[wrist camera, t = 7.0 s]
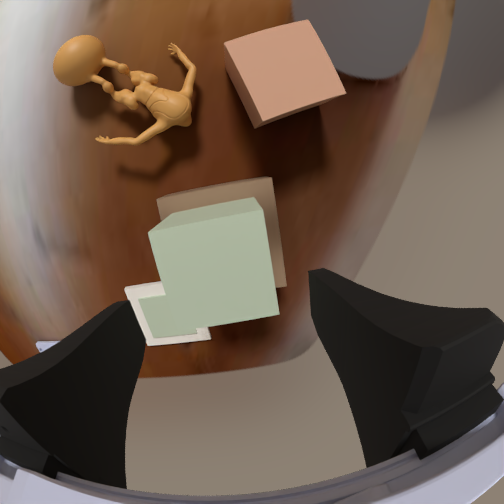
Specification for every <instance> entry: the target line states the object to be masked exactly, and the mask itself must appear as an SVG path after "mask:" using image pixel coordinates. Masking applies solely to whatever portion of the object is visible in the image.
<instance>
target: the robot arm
mask: <svg viewBox="0 0 504 504" xmlns="http://www.w3.org/2000/svg"><path fill="white" fill-rule="evenodd" d="M308 273H309V288H310V305H311V316H312V319H313V322H314V325H315V328H316V331H317V334H318V336H319V338H320V340H321V342H322V344H323V346H324V348H325V350H326V352H327V354H328V356H329V358H330V360H331V362H332V363H333V366H334V367H335V369H336V371H337V373H338V375H339V378H340V380H341V382H342V384H343V387H344V390H345V393H346V396H347V399H348V402H349V405H350V408H351V411H352V413H353V417H354V420H355V424H356V427H357V431H358V434H359V438H360V442H361V445H362V449H363V453H364V458H365V462H366V467H367V468H365V469H363V470H359V471H357V472H353V473H351V474H347V475H344V476H340V477H337V478H333V479H330V480H326V481H322V482H318V483H313V484H309V485H304V486H300V487H294V488H288V489H283V490H277V491H269V492H262V493H252V494H241V495H221V496H188V495H170V494H159V493H149V492H142V491H134V490H128V489H127V486H126V474H125V439H126V427H127V418H128V412H129V407H130V402H131V399H132V395H133V392H134V388H135V385H136V382H137V378H138V375H139V372H140V368H141V365H142V362H143V357H144V351H145V344H146V338H145V336H144V334H143V331H142V329H141V327H140V324H139V322H138V320H137V317H136V315H135V312H134V310H133V307H132V305H131V302H130V300H127V301H119V302H116V303H114V304H112V305H110V306H109V307H107V308H106V309H104V310H103V311H101V312H100V313H99V314H97V315H96V316H95V317H93V318H92V319H91V320H89V321H88V322H87V323H85V324H84V325H83V326H81V327H80V328H78V329H77V330H76V331H74V332H73V333H71V334H70V335H69V336H67V337H66V338H64V339H63V340H61V341H38V342H37V343H36V346H37V348H38V350H39V351H40V353H39V354H37V355H34V356H32V357H30V358H28V359H26V360H24V361H22V362H19V363H17V364H14V365H11V366H8V367H5V368H2V369H0V504H470V503H472V502H473V501H474V500H475V499H477V498H478V497H479V496H480V495H482V494H483V493H484V492H486V491H487V490H488V489H489V488H490V487H491V486H493V485H494V484H495V483H496V482H497V481H498V480H500V479H501V478H502V477H503V476H504V383H502V384H501V386H500V387H499V388H498V389H497V390H496V389H495V387H494V386H493V385H492V384H493V383H494V381H495V377H494V376H493V375H492V373H491V372H490V370H491V368H492V366H493V364H494V361H495V359H496V357H497V355H498V353H499V351H500V349H501V346H502V344H503V341H504V322H503V321H502V320H501V319H500V318H498V317H497V316H496V315H495V314H494V313H493V312H491V311H490V310H489V309H488V308H448V307H437V306H430V305H424V304H419V303H413V302H409V301H404V300H401V299H398V298H394V297H390V296H387V295H384V294H381V293H379V292H376V291H373V290H371V289H369V288H366V287H364V286H362V285H359V284H357V283H355V282H353V281H351V280H348V279H346V278H344V277H342V276H340V275H338V274H336V273H334V272H332V271H330V270H327V269H325V268H321V269H316V270H311V271H308Z"/></svg>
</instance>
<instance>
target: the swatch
mask: <svg viewBox="0 0 504 504" xmlns="http://www.w3.org/2000/svg"><path fill="white" fill-rule="evenodd" d="M124 290H125V293H126V295H127V298H128V300H130V302H131V305H132V307H133V310H134V312H135V315H136V317H137V320H138V322H139V324H140V327H141V329H142V331H143V334H144V336H145V338H146V343H147V345H148V346H153V345H165V344H175V343H184V342H193V341H201V340H209V339H211V334H210V330H209V327H203V328H196V329H189V330H181V331H178V330H177V327H176V324H175V321H174V318H173V315H172V313H171V310H170V307H169V304H168V300H167V297H166V294H165V291H164V288H163V285H162V281H159V282H153V283H147V284H140V285H134V286H127V287H125V289H124Z"/></svg>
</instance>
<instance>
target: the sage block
mask: <svg viewBox="0 0 504 504" xmlns="http://www.w3.org/2000/svg"><path fill="white" fill-rule="evenodd" d="M148 235H149V239H150V243H151V247H152V250H153V254H154V257H155V261H156V265H157V268H158V271H159V275H160V278H161V281H162V285H163V288H164V291H165V294H166V297H167V300H168V304H169V307H170V310H171V313H172V315H173V318H174V321H175V324H176V327H177V330H178V331H181V330H189V329H196V328H203V327H210V326H216V325H223V324H229V323H235V322H241V321H247V320H252V319H258V318H263V317H268V316H274V315H279V308H278V301H277V295H276V288H275V282H274V275H273V269H272V262H271V256H270V250H269V243H268V237H267V231H266V225H265V219H264V213H263V209H262V208H261V206H260V205H259V203H258V202H257V200H256V199H255V198H254V197H252V198H246V199H240V200H235V201H230V202H224V203H219V204H214V205H209V206H204V207H199V208H194V209H190V210H185V211H180V212H176V213H172V214H171V215H169V216H168V217H167V218H165V219H164V220H163V221H162V222H160V223H159V224H158V225H157V226H155V227H154V228H153V229H152V230H150V231H149V232H148Z"/></svg>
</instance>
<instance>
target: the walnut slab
mask: <svg viewBox="0 0 504 504" xmlns="http://www.w3.org/2000/svg"><path fill="white" fill-rule="evenodd" d="M252 197H254V198H255V199H256V200H257V202H258V203H259V205H260V206H261V208H262V209H263V213H264V219H265V225H266V231H267V237H268V243H269V250H270V256H271V262H272V269H273V275H274V282H275V288H279V287H285V286H287V285H286V277H285V269H284V261H283V253H282V245H281V238H280V231H279V223H278V216H277V209H276V202H275V195H274V189H273V182H272V178H271V177H267V176H265V177H258V178H252V179H245V180H239V181H234V182H228V183H222V184H217V185H212V186H206V187H201V188H196V189H191V190H186V191H182V192H177V193H172V194H168V195H166V196H163V197H161V198H159V199H156V200H157V204H158V209H159V214H160V218H161V222H162V221H163V220H164V219H165V218H167V217H168V216H169V215H171V214H172V213H176V212H180V211H185V210H190V209H194V208H199V207H204V206H209V205H214V204H219V203H224V202H230V201H235V200H240V199H246V198H252Z"/></svg>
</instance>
